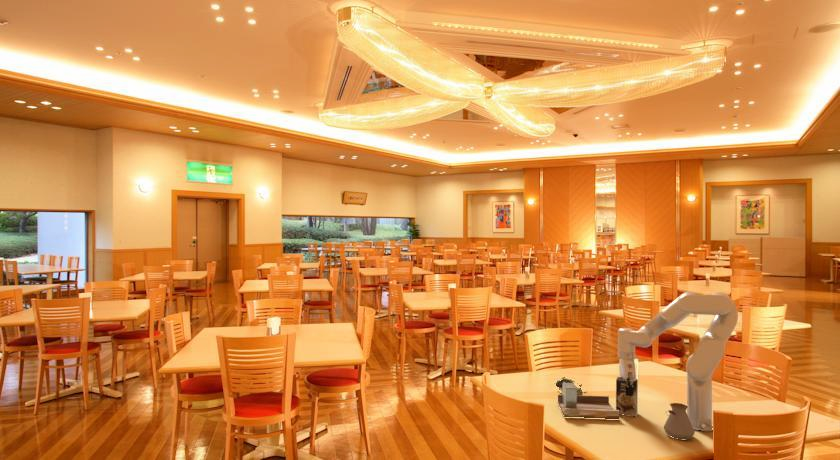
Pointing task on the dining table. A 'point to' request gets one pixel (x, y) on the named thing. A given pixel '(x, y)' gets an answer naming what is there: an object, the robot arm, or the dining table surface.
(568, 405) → the tea tin
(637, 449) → the dining table surface
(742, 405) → the dining table surface
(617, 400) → the coffee box
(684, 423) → the coffee pot
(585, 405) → the flat grey tray
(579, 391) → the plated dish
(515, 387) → the dining table surface
